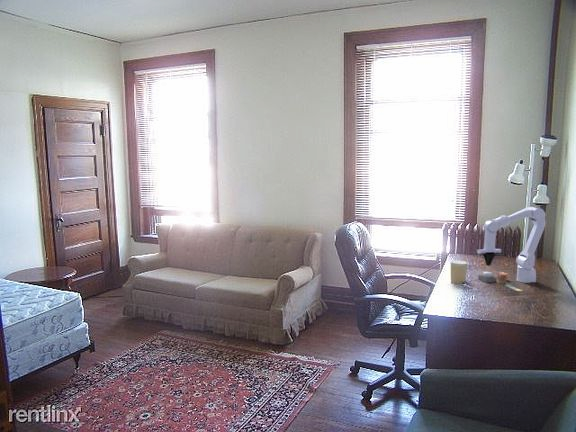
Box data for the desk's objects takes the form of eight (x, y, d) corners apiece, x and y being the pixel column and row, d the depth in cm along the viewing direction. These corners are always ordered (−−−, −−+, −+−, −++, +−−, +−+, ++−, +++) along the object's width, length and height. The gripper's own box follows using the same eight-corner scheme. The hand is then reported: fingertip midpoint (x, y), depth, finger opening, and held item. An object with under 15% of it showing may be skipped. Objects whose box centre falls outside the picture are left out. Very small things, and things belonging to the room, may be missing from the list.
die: (501, 278, 262) (502, 271, 262) (508, 280, 259) (508, 273, 258) (497, 279, 260) (497, 272, 260) (503, 281, 257) (504, 274, 256)
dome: (488, 276, 260) (488, 271, 260) (493, 278, 256) (494, 273, 255) (481, 277, 259) (481, 272, 259) (486, 279, 255) (486, 274, 254)
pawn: (502, 282, 254) (503, 273, 253) (507, 284, 250) (508, 275, 249) (497, 282, 253) (497, 274, 252) (501, 284, 249) (502, 276, 248)
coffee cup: (465, 280, 262) (466, 260, 260) (467, 285, 253) (468, 264, 251) (448, 279, 264) (449, 259, 263) (449, 284, 255) (451, 263, 254)
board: (502, 279, 264) (502, 273, 264) (534, 292, 240) (535, 285, 240) (474, 281, 260) (474, 275, 259) (504, 294, 236) (504, 287, 235)
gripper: (495, 240, 260) (494, 263, 262) (474, 241, 257) (472, 264, 259) (504, 242, 253) (502, 265, 255) (482, 243, 250) (480, 267, 252)
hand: (488, 265), depth 257 cm, fingers closed
